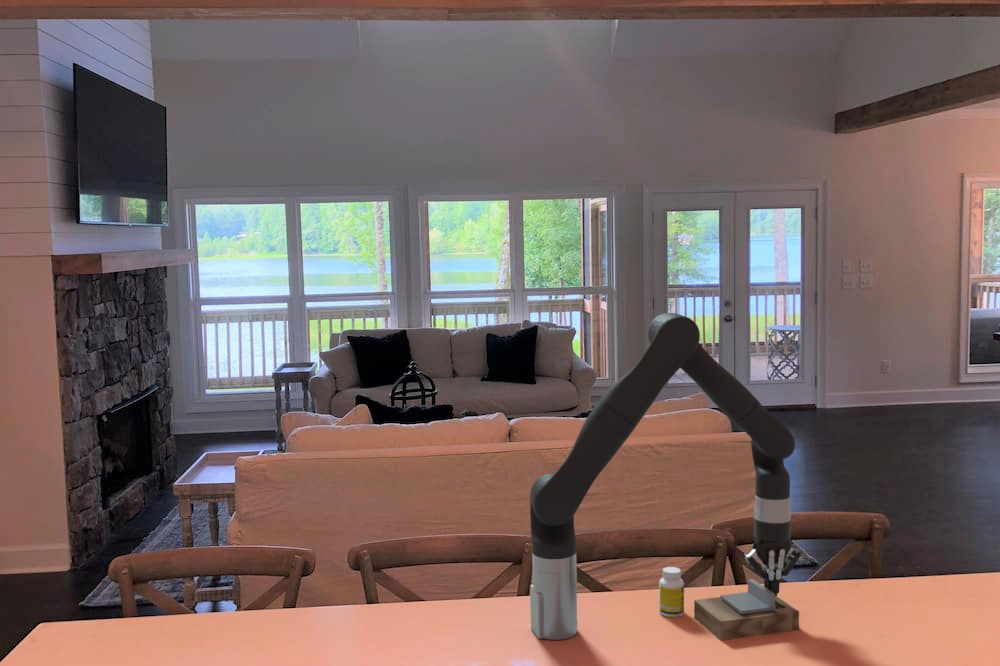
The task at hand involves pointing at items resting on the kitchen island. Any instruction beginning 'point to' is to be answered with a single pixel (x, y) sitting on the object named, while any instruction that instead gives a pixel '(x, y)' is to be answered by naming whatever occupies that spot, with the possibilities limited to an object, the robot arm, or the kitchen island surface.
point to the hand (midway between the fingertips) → (771, 595)
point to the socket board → (744, 619)
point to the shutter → (751, 599)
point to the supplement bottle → (671, 593)
